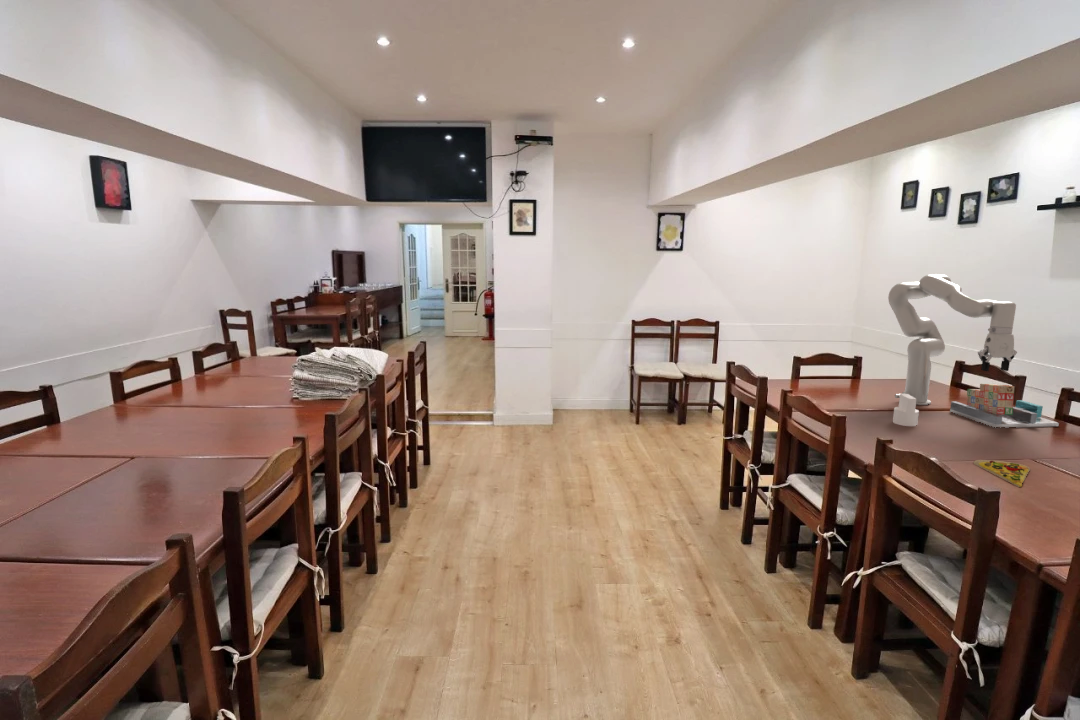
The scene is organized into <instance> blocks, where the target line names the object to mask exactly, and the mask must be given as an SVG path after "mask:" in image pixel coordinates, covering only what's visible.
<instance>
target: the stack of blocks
mask: <svg viewBox="0 0 1080 720" xmlns="http://www.w3.org/2000/svg"><path fill="white" fill-rule="evenodd" d="M966 396H967V397H966V399H967V400H966V405H969V406H972V407H975V408H978V409H981V410H984V411H987V412H990V413H993V414H1005V415H1013V407H1014V400H1015V386H1014V385H1010V384H999V383H998V384H996V383H979V389H977V388H967V390H966Z"/></svg>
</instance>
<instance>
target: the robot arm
mask: <svg viewBox="0 0 1080 720" xmlns="http://www.w3.org/2000/svg"><path fill="white" fill-rule="evenodd" d="M962 291H963V290H962V287H961V286H960V285H959V284H956V283H954V282H952V280H951V277H950V276H948V275H946V274H942V273H941V274H939V273H938V274H937V273H935V274H933V273H932V274H930V273H929V274H926V275H924V276H923V277H922V278H920V280H919V281H905V282H904V281H903V282H899V283H896V284H895V285H894V286H893V287H891V289H890V290H889V293H888V297H887V298H888V303H889V306H890V308H891V310H892V312H893V314H894V315H895V318H896V319H897V322H898V325H899V327H900V329H901V331H902V333H903V335H904V336H905V337H906V338H907V337H908V338H916V339H914V340H912V341H910V342H909V344H908V346H907V371H906V378H905V388H904V391H902V393H896V394H895V395H894V398H895V399H900V394H909V395H910V396H912V397H914V398H916V406H929V405H931V404H932V401H931V400H930V399H928V398H929V397H928V396H929V391H930V381H931V374H932V373H931V372H932V362H931V358H935V357H939V356H940V355H942V354H943V353H944V352H945V349H946V345H945V341H944V339H943V337H942V335H941V333H940V330H939V328H938V326H937V325H936V323H935V322H934V321H933V320H932V319H931V318H929V317H924V316H923V317H921V316H919V315H918V313H917V310H916V309H915V307H914V306H913V305H912V304H911V302H909V300H919V299H924V298H927V297H930V296H931V297H932V296H933V297H935V298H936V299H939V300H942V301H943V302H945V303H946V304H948V306H949V307H950V308H952V309H953V311H956V312H958V313H960V314H962V315H964V316H967V317H969V318H973V319H974V318H977V319H978V318H988V317H989V318H990V325H989V328H988V329H987V331H988V333H987V335H986V338H985V341H984V344H983V345H984V346H983V348H982V349H980V350H979V351H978V352H977V356H978V357H979V359H980V362H981V368H980V369H981V371H983V372H989V371H990V365H991V362H990V361H991V359H996V358H997V359H999V358H1000V359H1001V358H1002V360H1001V363H1000V370H1001V371H1004V372H1009V371H1010V370H1009V368H1010V363H1011V362H1012V360H1013V359H1014V358H1015V356H1016V355H1017V354H1018V352H1017V350H1015V337H1014V334H1013V328H1014V321H1015V316H1016V309H1017V308H1016V307H1017V304H1016V303H1015V302H1013V301H998V300H993V299H978V300H976V299H973V298H971V297H969V296H967V295H965V294H963V293H962ZM928 404H929V405H928Z"/></svg>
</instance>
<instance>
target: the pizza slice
mask: <svg viewBox="0 0 1080 720" xmlns="http://www.w3.org/2000/svg"><path fill="white" fill-rule="evenodd" d="M972 463H974V464H973V465H975V466H977V467H979V468H981V469H983V470H985V471H986V472H988V471H989V472H988V473H991V474H993V475H994V476H996V475H997V476H996V477H998V476H999V477H998V478H1000V479H1002V480H1004V481H1006V482H1007V483H1008V482H1009V483H1010V484H1012V485H1014V486H1016V487H1018V488H1022V486H1023V484H1024V482H1025V480H1026V478H1027V477H1026V476H1028V475H1027V474H1029V473H1030V472H1031V468H1030V467H1029V465H1028V466H1027V465H1024V464H1022V463H1021V464H1020V463H1016V462H1009V461H1003V460H994V459H993V460H989V459H987V460H986V459H976V460H974V461H973V462H972ZM1029 471H1030V472H1029ZM1028 472H1029V473H1028ZM1022 483H1023V484H1022Z"/></svg>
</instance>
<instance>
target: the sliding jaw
mask: <svg viewBox="0 0 1080 720" xmlns="http://www.w3.org/2000/svg"><path fill="white" fill-rule="evenodd" d="M1042 412H1043V405H1040V404H1036V403H1033V402H1030V401H1029V402H1028V401H1025V400H1022V399H1020V400H1019V399H1018V400H1017V399H1016V401H1015V406H1013V415H1007V416H1010V417H1013V418H1016V419H1019V420H1023V421H1026V422H1029V423H1036V418H1038V417H1041V418H1042V414H1043V413H1042ZM1004 415H1005V414H1004Z"/></svg>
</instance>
